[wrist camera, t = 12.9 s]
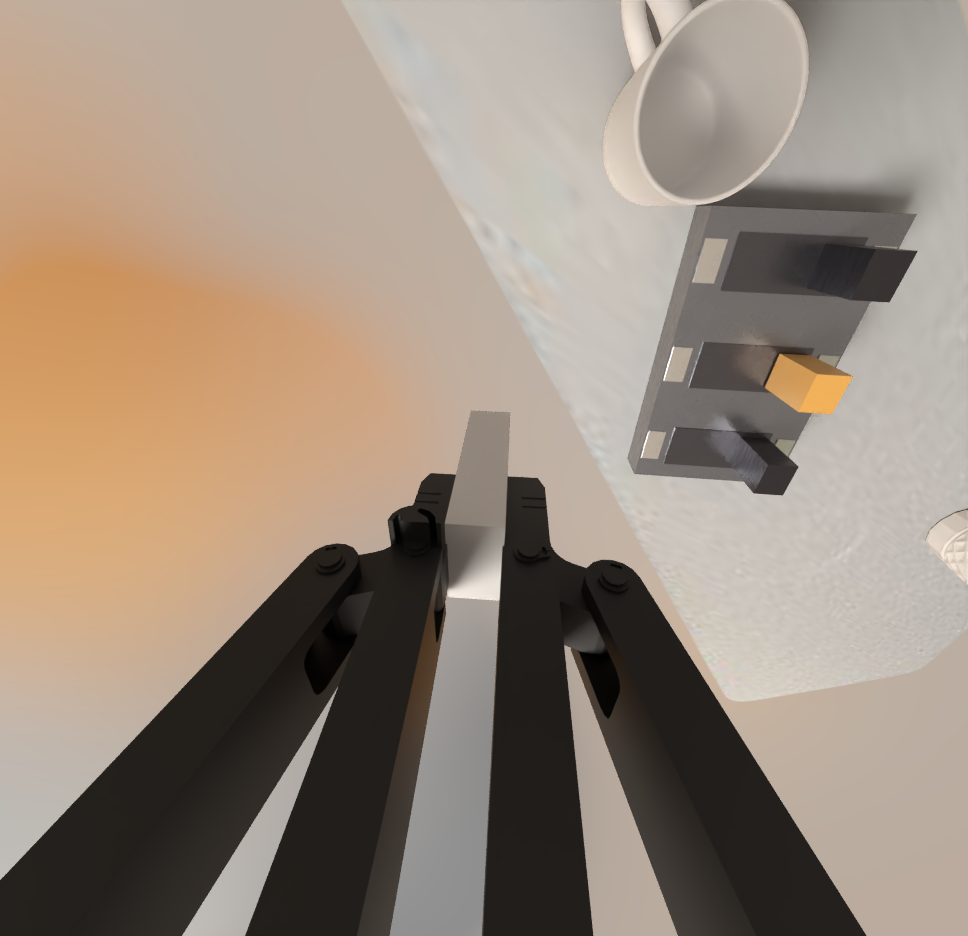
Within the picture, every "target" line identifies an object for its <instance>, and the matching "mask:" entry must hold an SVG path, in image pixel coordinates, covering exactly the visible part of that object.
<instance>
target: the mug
mask: <svg viewBox="0 0 968 936" xmlns="http://www.w3.org/2000/svg"><path fill="white" fill-rule="evenodd" d="M645 1H646V2H647V4H648V6H649V7H650V9H651V11H652V13H653V16H654V18H655V21H656V23H657V26H658V29H659V33H660V36H661V43H660V44H659V46H658V47H657V48H656V47H655V44H654V41H653V38H652V35H651V31H650V28H649V24H648V19H647V13H646V3H645ZM621 16H622V25H623V31H624V36H625V40H626V44H627V48H628V52H629V55H630V59H631V62H632V65H633V68H634V75H633V76H632V77H631V79H630V80H629V81H628V82H627V84H626V85H625V86H624V88H623V89H622V91H621V92H620V94H619V96H618V97H617V99H616V100H615V102H614V104H613V107H612V109H611V111H610V114H609V116H608V119H607V123H606V127H605V131H604V138H603V160H604V165H605V169H606V172H607V175H608V177H609V179H610V181H611V183H612V185H613V186H614V188H615V189H616V190H617V191H618V192H619V194H621V195H622V196H623V197H624V198H626V199H627V200H629V201H631V202H633V203H636V204H639V205H645V206H677V205H702V204H709V203H712V202H716V201H719V200H722V199H724V198H726V197H729V196H731V195H732V194H734V193H736V192H738V191H740V190H741V189H742V188H744V187H745V186H747V185H748V184H750V183H751V182H752V181H753V180H754V179H755V178H756V177H758V176H759V175H760V174H761V173H762V172H763V171H764V170H765V169H766V168H767V167H768V165H769V164H770V163H771V162H772V161H773V159H774V158H775V157H776V156H777V154H778V153H779V151H780V150H781V148H782V147H783V145H784V144H785V142H786V141H787V139H788V137H789V135H790V133H791V132H792V130H793V128H794V125H795V123H796V121H797V119H798V116H799V114H800V111H801V108H802V105H803V102H804V98H805V93H806V89H807V83H808V75H809V52H808V44H807V40H806V35H805V32H804V29H803V27H802V24H801V22H800V20H799V18H798V17H797V15H796V13H795V12H794V10H793V9H792V8H791V7H790V6H789V5H788V4H787V3H786V2H785V1H784V0H706V1H704V2H703V3H701V4H700V5H699V6H697V7H696V8H694V9H693V7H692V4H691V1H690V0H621Z"/></svg>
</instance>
